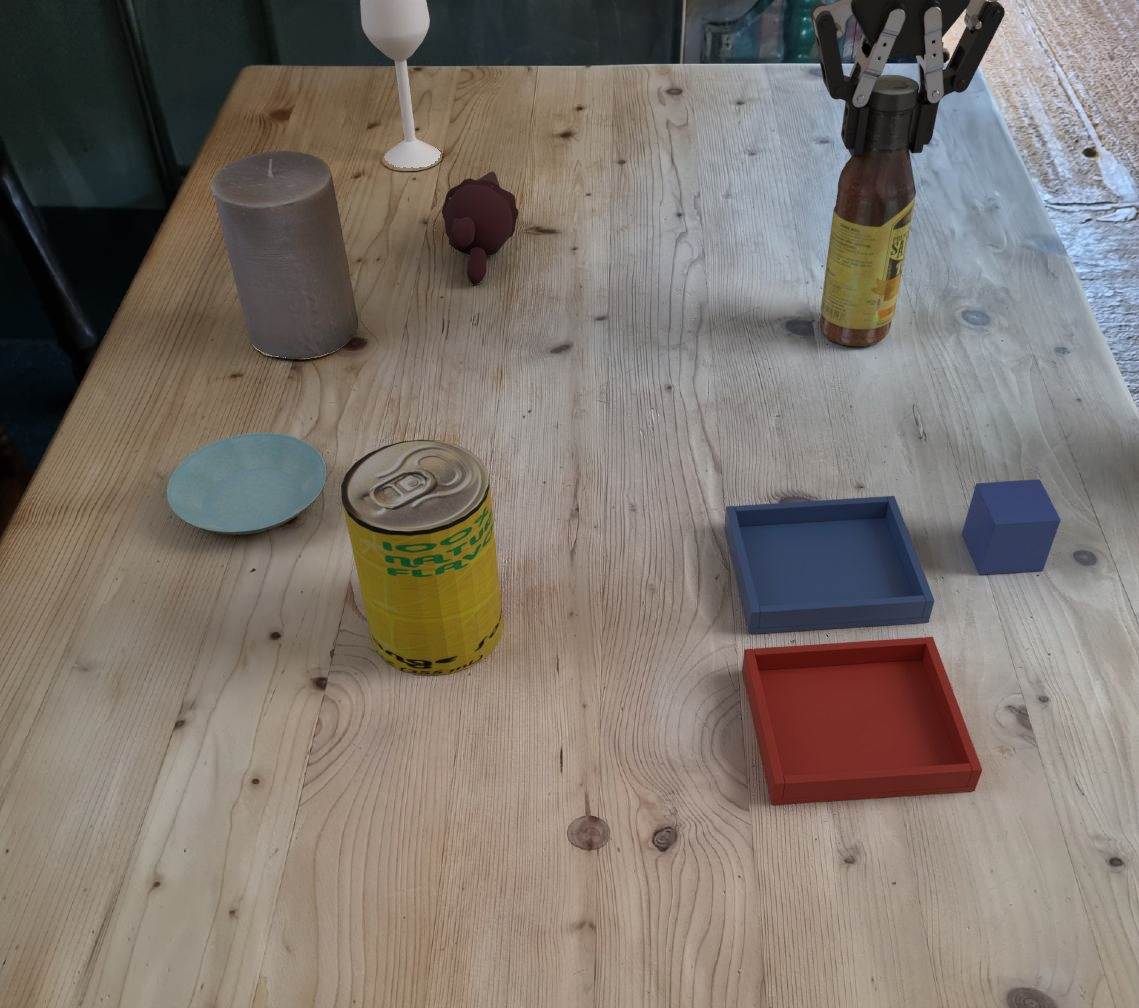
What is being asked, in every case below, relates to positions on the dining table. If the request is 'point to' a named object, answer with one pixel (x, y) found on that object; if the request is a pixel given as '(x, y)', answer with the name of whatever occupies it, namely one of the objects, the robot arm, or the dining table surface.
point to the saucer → (246, 483)
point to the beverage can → (425, 554)
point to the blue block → (1010, 526)
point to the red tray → (857, 721)
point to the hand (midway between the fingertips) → (884, 149)
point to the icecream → (479, 221)
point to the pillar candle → (287, 252)
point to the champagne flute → (400, 66)
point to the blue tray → (826, 565)
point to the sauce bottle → (872, 221)
